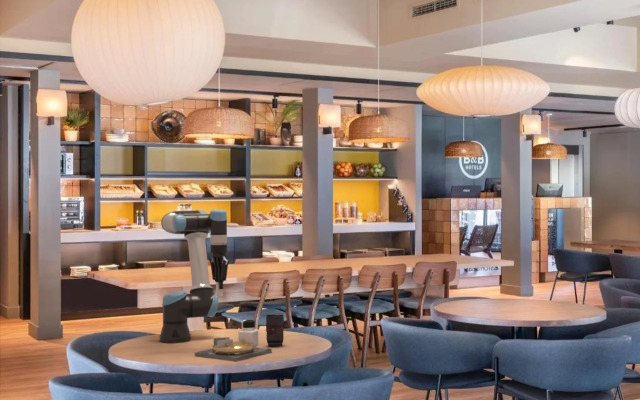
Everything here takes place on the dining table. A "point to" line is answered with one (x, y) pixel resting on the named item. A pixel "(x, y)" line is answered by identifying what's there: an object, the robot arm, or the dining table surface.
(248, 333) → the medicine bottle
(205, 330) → the dining table surface
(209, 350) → the base plate
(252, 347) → the ring nut
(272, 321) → the camera lens
